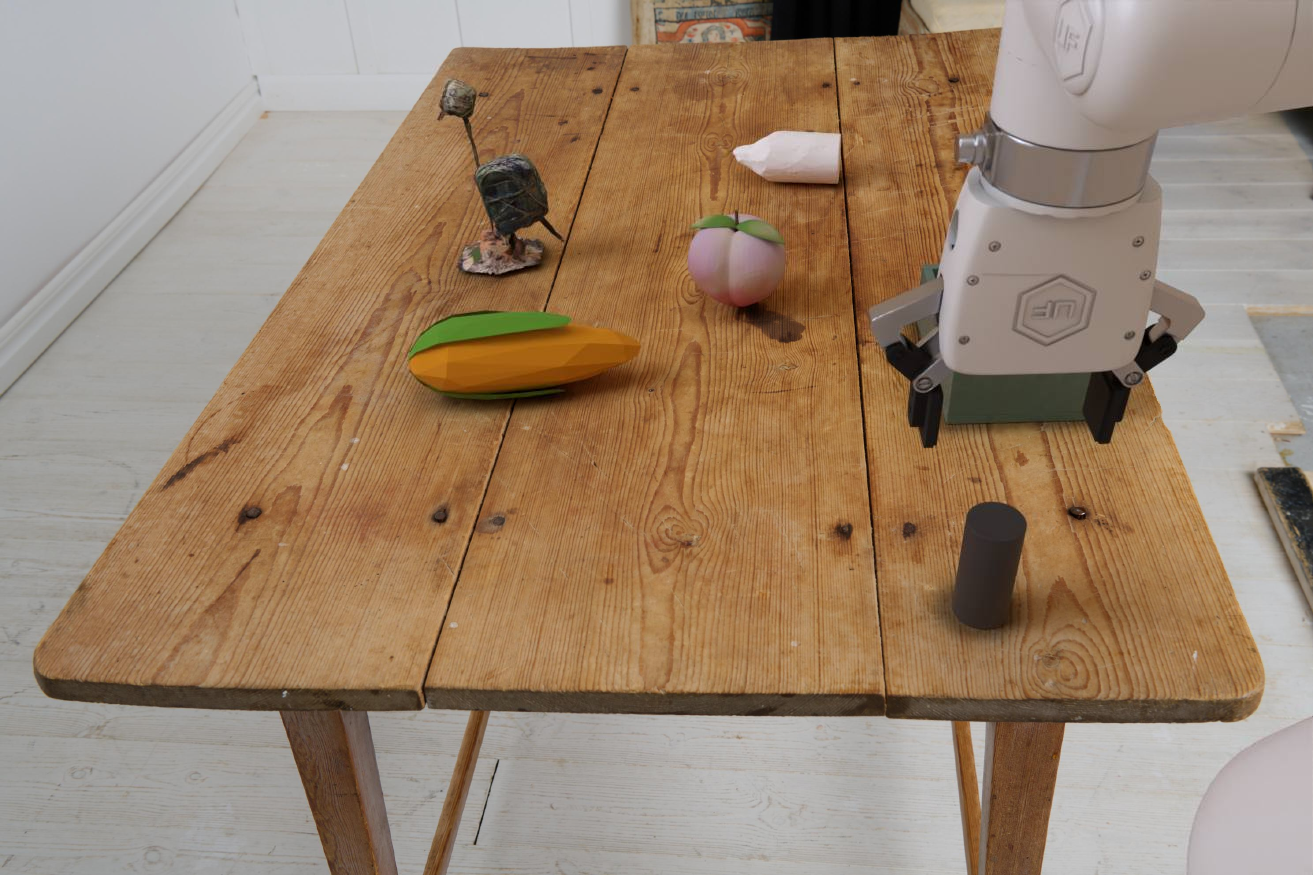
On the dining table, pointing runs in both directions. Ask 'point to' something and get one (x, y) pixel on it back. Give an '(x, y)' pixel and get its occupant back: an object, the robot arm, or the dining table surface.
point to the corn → (513, 353)
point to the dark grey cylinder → (988, 564)
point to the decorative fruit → (736, 258)
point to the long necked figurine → (500, 198)
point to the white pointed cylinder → (794, 157)
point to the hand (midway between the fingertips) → (1009, 430)
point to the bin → (1007, 390)
